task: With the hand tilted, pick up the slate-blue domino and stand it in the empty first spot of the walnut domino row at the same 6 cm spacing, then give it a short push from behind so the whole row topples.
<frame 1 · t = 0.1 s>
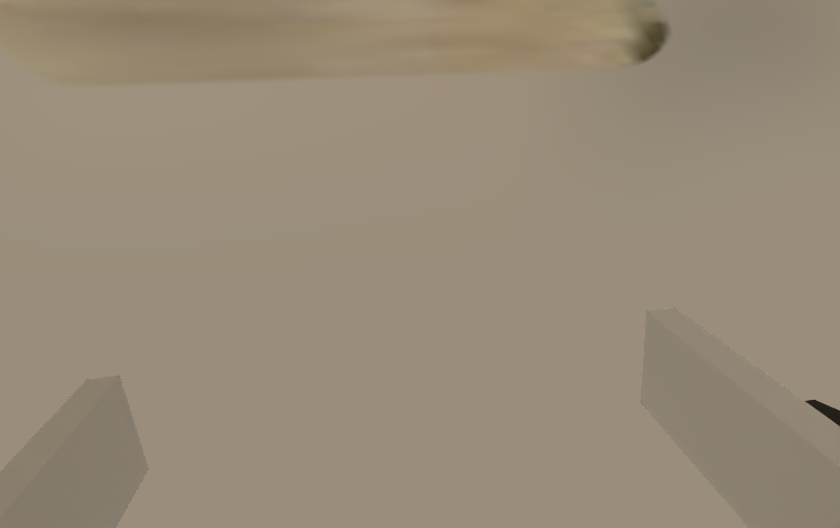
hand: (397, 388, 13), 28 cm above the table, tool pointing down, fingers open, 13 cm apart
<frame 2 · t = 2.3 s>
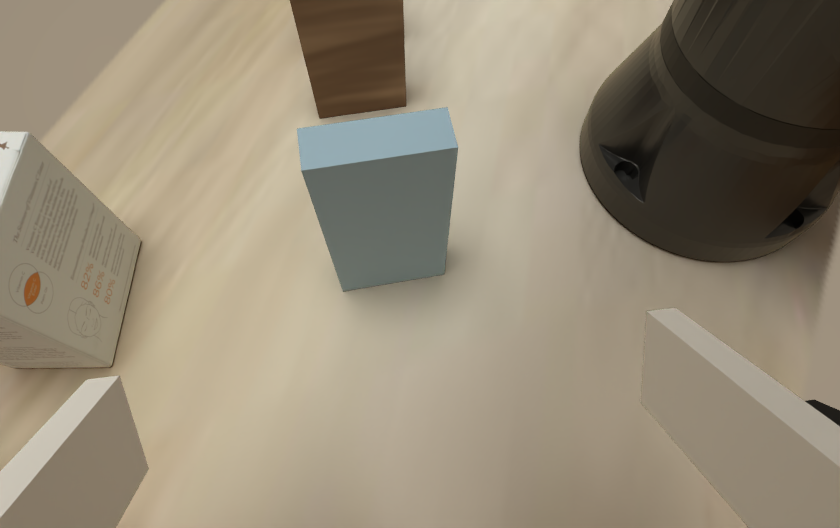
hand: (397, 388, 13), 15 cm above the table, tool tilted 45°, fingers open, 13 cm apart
domino 2: (361, 101, 37), on the table
blue domino: (391, 267, 31), on the table
small box: (83, 303, 30), on the table
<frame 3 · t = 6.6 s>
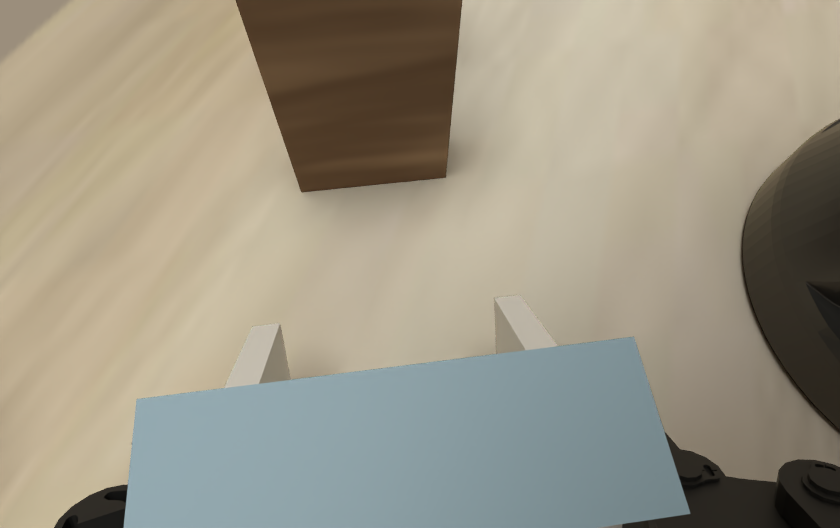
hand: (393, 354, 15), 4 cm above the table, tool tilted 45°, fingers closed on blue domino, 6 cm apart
domino 2: (371, 165, 22), on the table
blue domino: (409, 496, 17), on the table, touching gripper
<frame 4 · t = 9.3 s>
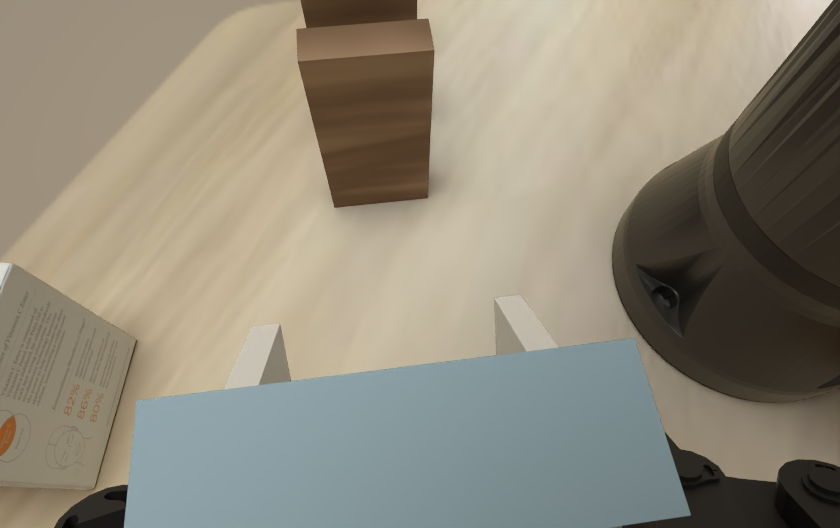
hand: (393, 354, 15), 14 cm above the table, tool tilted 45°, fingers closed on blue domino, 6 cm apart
domino 2: (379, 189, 34), on the table
blue domino: (409, 497, 17), point 11 cm above the table, touching gripper
domino 3: (371, 118, 37), on the table
small box: (70, 409, 28), on the table
when the fingers open (5 cm above the table, at t = 12.5 s): blue domino stays where it is, on the table.
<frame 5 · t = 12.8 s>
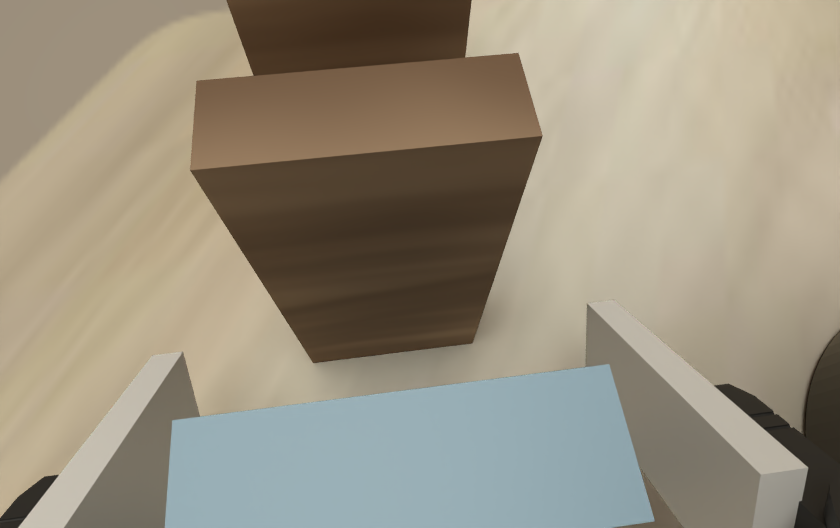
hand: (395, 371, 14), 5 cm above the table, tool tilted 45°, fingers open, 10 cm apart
domino 2: (390, 327, 20), on the table
blue domino: (410, 499, 18), on the table
domino 3: (376, 196, 23), on the table
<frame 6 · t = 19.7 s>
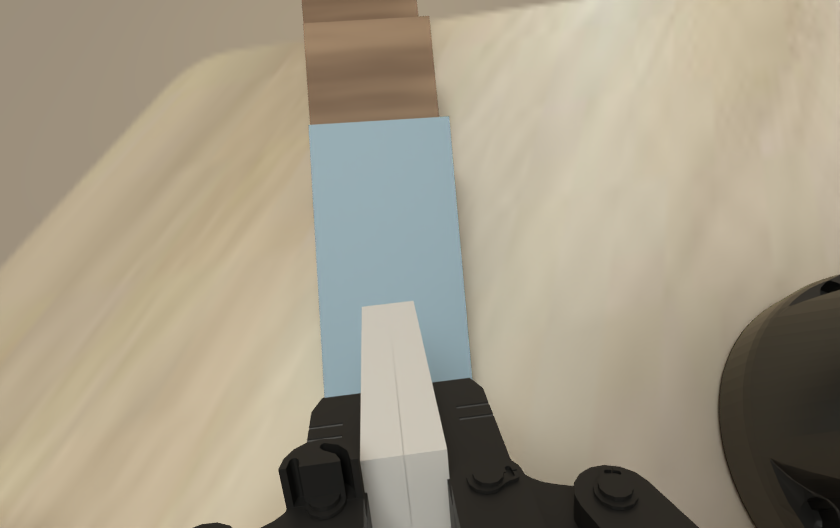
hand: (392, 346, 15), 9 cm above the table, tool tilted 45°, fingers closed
domino 2: (387, 271, 25), point 1 cm above the table, tilted 70°, touching blue domino, domino 3
blue domino: (400, 403, 22), point 1 cm above the table, tilted 70°, touching domino 2
domino 3: (376, 173, 27), point 1 cm above the table, tilted 73°, touching domino 2, domino 4
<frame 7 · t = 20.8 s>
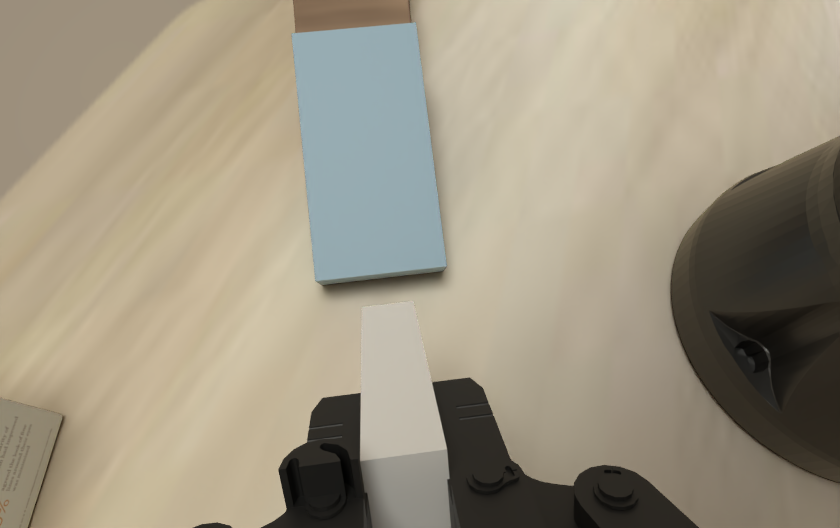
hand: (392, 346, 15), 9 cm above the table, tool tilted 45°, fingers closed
domino 2: (366, 168, 28), point 1 cm above the table, tilted 71°, touching blue domino, domino 3
blue domino: (382, 275, 25), point 1 cm above the table, tilted 71°, touching domino 2
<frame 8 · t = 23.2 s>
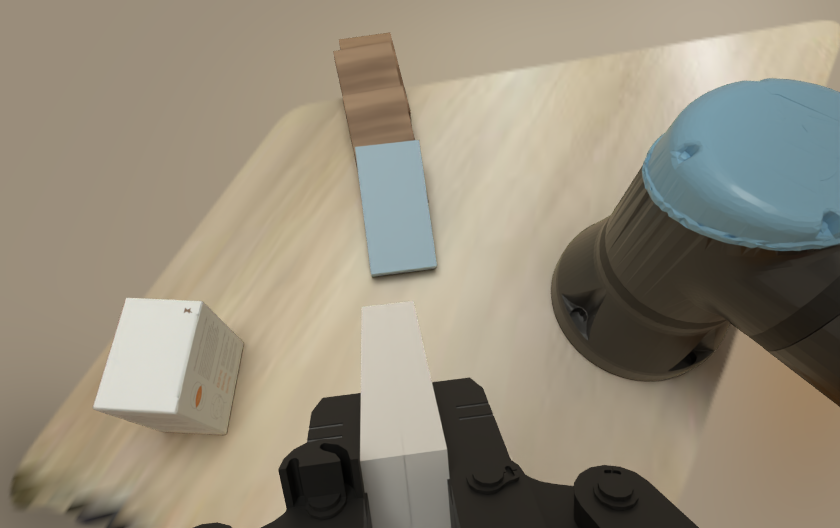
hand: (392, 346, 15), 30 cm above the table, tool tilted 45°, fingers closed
domino 2: (397, 210, 51), point 1 cm above the table, tilted 71°, touching blue domino, domino 3
blue domino: (403, 271, 49), point 1 cm above the table, tilted 72°, touching domino 2
domino 4: (383, 121, 57), point 1 cm above the table, tilted 90°, touching domino 3
domino 3: (386, 159, 54), point 1 cm above the table, tilted 72°, touching domino 2, domino 4
small box: (205, 386, 45), on the table
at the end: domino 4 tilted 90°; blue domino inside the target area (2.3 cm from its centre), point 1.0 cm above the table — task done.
